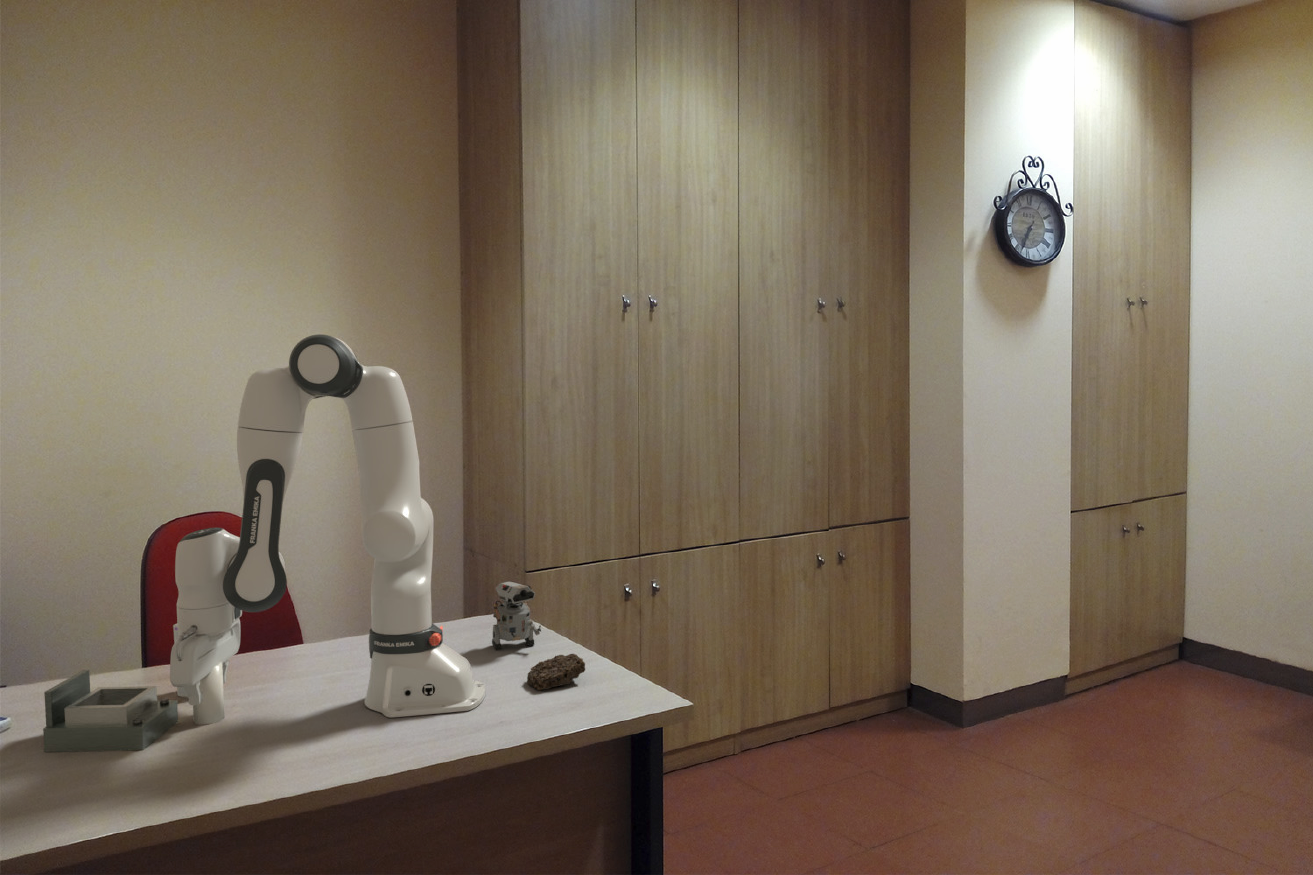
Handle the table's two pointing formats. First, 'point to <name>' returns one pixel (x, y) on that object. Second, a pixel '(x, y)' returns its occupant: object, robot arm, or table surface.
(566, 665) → the brown porous lump
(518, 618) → the figurine
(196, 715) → the white rounded piece
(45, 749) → the bolted metal fixture
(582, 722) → the table surface
